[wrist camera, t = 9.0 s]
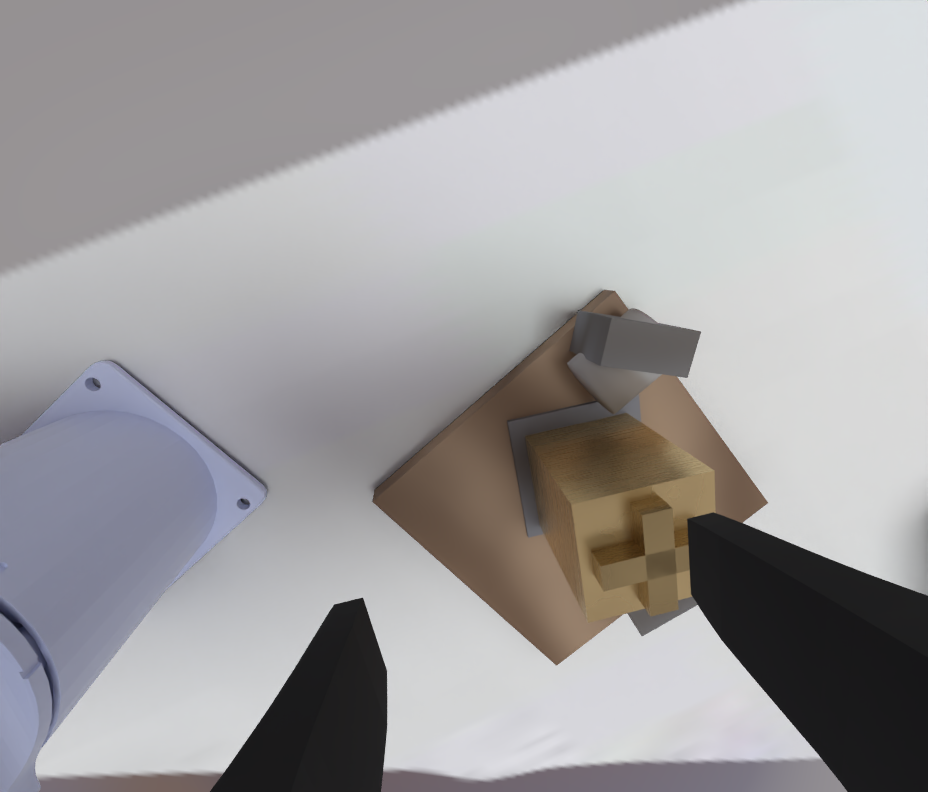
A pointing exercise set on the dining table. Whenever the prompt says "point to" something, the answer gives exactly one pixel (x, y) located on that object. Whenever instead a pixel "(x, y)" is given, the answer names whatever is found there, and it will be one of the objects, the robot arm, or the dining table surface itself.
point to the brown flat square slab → (509, 475)
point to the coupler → (619, 512)
